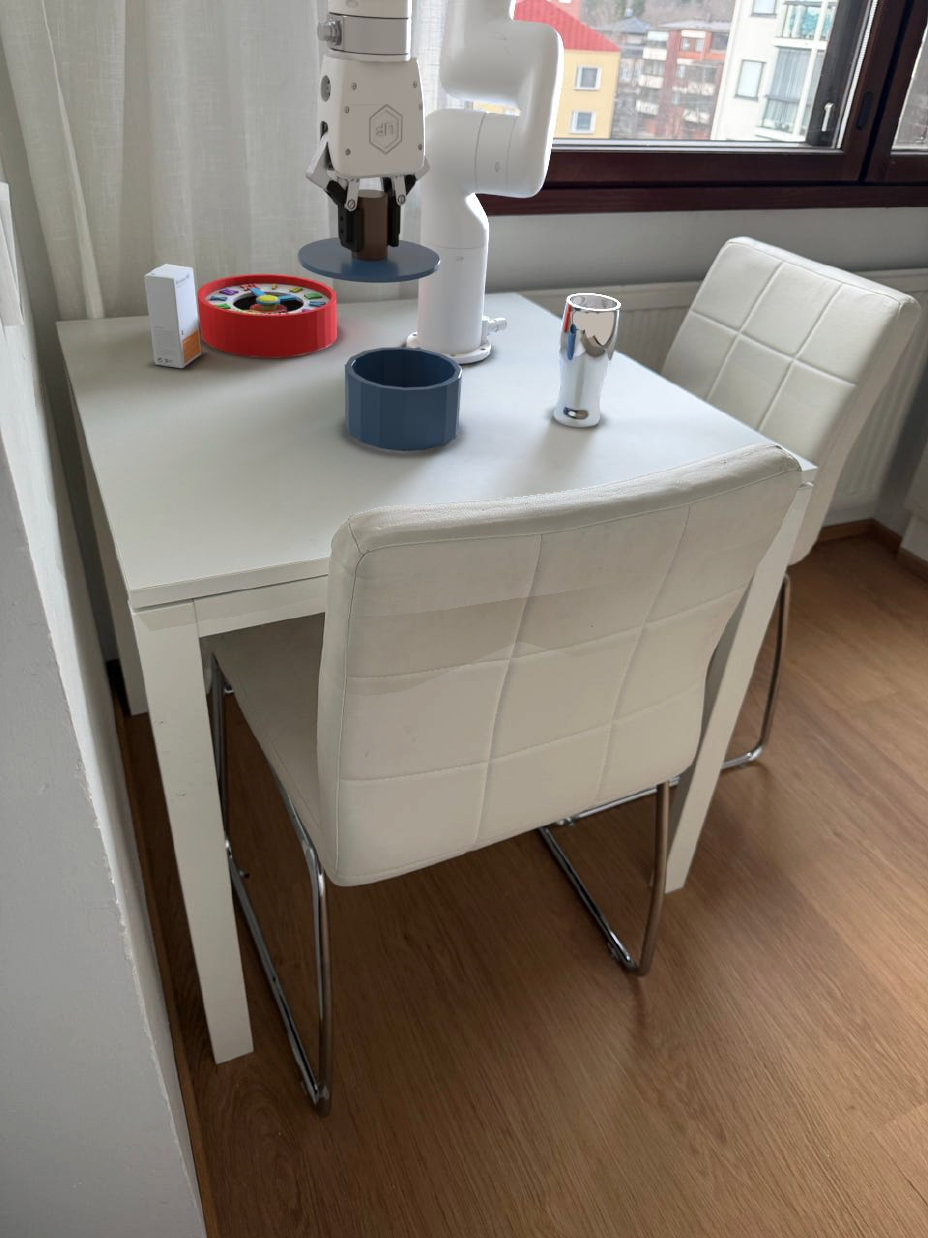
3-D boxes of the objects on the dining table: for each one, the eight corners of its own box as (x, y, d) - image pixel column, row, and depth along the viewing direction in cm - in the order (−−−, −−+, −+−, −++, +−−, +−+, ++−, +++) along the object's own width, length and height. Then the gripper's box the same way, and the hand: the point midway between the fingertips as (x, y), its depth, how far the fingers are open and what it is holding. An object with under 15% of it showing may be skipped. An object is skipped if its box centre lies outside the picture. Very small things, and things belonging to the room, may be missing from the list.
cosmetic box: (183, 369, 124) (173, 278, 117) (154, 365, 124) (141, 274, 117) (203, 354, 129) (193, 266, 122) (174, 350, 129) (163, 262, 122)
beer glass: (607, 413, 121) (627, 298, 112) (596, 433, 116) (615, 314, 107) (557, 403, 123) (572, 289, 114) (543, 422, 117) (558, 304, 109)
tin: (415, 400, 120) (417, 340, 116) (479, 439, 112) (484, 376, 107) (325, 421, 113) (324, 358, 109) (386, 464, 105) (387, 398, 100)
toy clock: (226, 323, 122) (177, 281, 136) (230, 365, 126) (182, 320, 139) (360, 306, 132) (302, 268, 145) (360, 346, 135) (303, 306, 148)
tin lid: (389, 241, 105) (390, 172, 100) (467, 277, 96) (472, 203, 91) (272, 256, 97) (268, 183, 93) (345, 297, 88) (344, 217, 84)
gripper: (310, 43, 78) (317, 265, 89) (466, 43, 86) (455, 246, 97) (268, 33, 82) (280, 246, 93) (420, 34, 91) (415, 229, 102)
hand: (369, 244), depth 95 cm, fingers closed on tin lid, 3 cm apart
